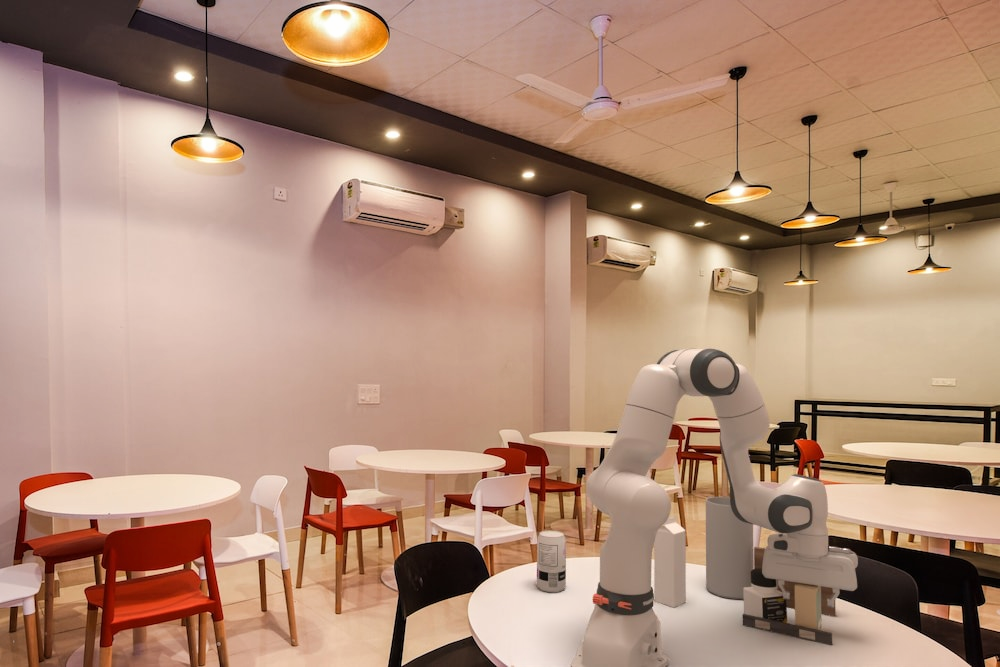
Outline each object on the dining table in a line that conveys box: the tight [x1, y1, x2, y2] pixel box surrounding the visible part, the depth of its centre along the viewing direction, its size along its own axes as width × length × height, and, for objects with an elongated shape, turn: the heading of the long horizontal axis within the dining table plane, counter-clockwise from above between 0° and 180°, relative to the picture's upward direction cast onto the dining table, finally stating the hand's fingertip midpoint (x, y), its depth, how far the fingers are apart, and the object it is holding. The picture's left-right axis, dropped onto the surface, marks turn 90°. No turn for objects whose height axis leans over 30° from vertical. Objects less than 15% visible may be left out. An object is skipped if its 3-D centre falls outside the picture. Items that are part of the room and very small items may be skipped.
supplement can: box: [536, 529, 567, 593], centre depth 167 cm, size 8×8×15 cm
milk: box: [653, 516, 687, 608], centre depth 158 cm, size 6×6×22 cm
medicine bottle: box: [743, 568, 788, 623], centre depth 147 cm, size 7×7×12 cm
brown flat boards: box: [742, 546, 837, 646], centre depth 147 cm, size 20×19×14 cm
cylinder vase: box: [705, 496, 754, 600], centre depth 166 cm, size 12×12×25 cm
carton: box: [794, 583, 823, 630], centre depth 141 cm, size 5×7×11 cm
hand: (808, 602), depth 141 cm, fingers open, 8 cm apart
